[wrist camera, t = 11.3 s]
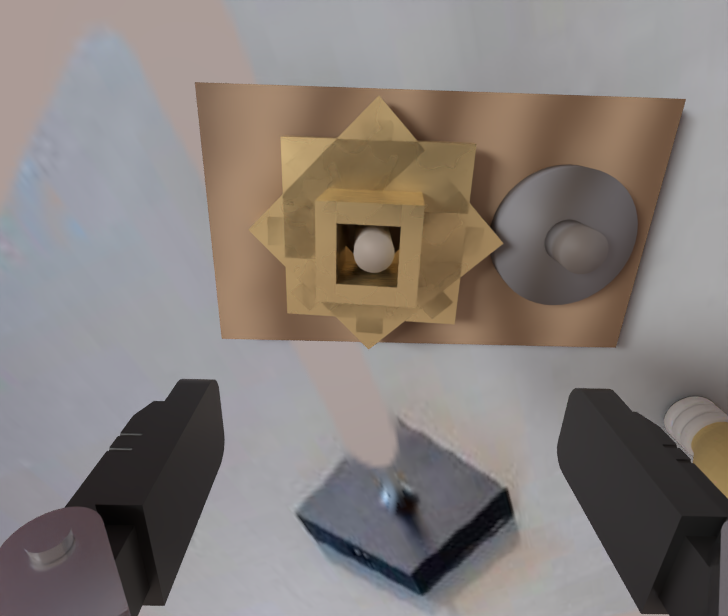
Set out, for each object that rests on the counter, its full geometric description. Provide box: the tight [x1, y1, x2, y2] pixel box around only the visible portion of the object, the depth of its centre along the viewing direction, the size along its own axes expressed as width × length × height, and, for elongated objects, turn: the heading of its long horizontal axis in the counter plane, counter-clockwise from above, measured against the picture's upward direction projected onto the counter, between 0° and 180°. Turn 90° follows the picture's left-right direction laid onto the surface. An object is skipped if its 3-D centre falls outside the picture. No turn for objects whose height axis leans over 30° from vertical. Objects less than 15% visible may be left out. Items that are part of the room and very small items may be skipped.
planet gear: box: [248, 96, 503, 349], centre depth 24 cm, size 14×14×5 cm
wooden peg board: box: [195, 82, 686, 348], centre depth 26 cm, size 26×15×7 cm, turn 88°
